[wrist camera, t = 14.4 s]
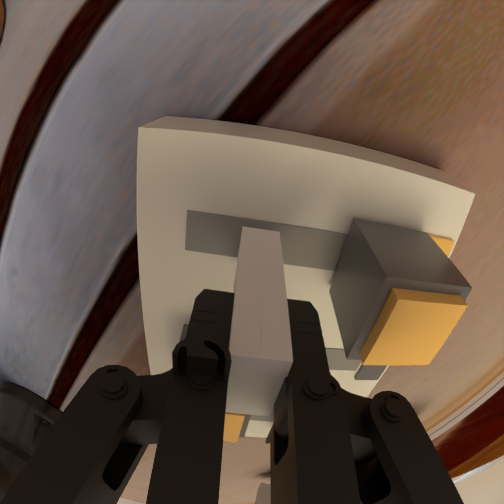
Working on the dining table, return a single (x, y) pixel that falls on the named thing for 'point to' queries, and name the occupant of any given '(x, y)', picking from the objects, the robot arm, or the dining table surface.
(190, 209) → the console
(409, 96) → the dining table surface
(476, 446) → the dining table surface
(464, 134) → the dining table surface
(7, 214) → the dining table surface
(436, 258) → the grey and orange cube
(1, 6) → the vase
